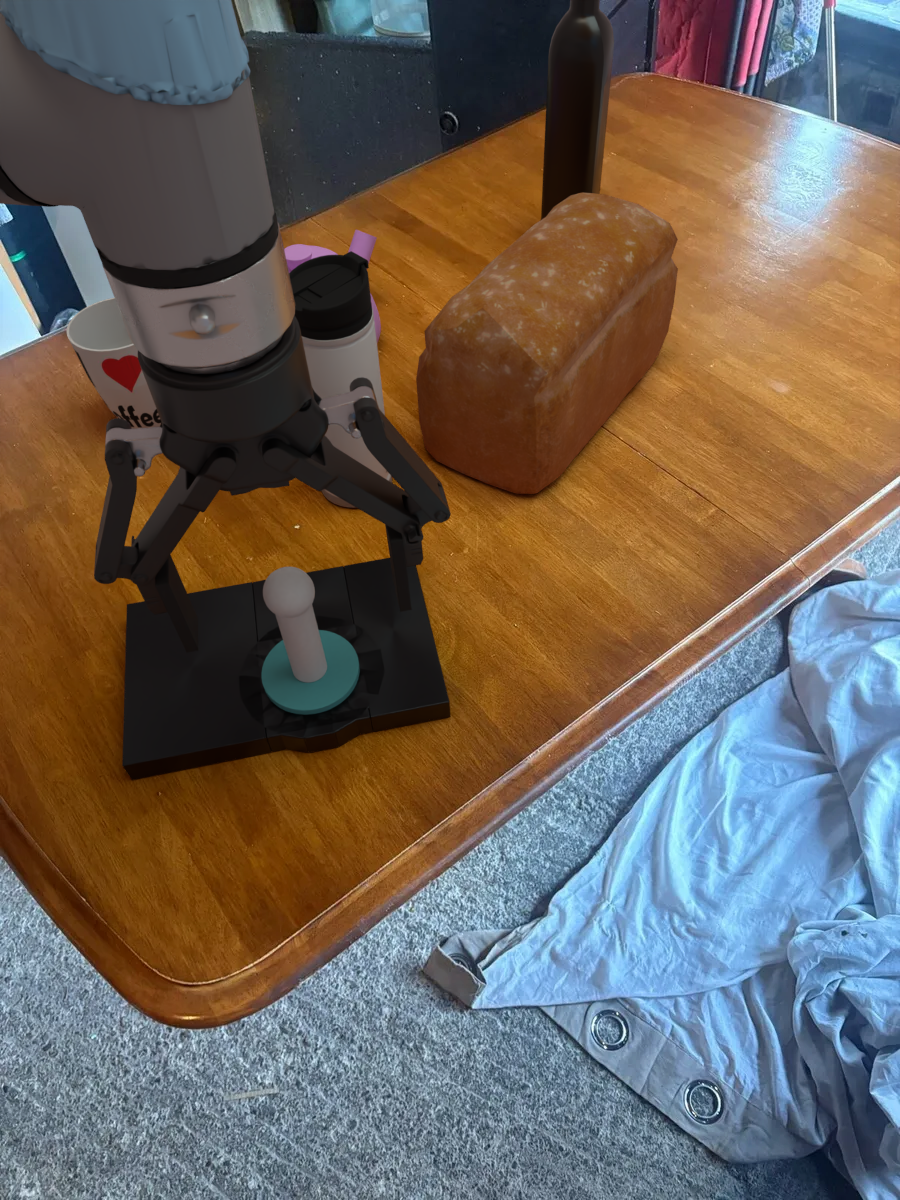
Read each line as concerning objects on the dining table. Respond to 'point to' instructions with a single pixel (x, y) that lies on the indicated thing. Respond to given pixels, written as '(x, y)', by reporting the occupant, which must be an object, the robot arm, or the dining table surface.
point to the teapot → (359, 245)
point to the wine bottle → (576, 103)
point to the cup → (113, 363)
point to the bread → (547, 342)
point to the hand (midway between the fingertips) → (298, 615)
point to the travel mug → (339, 339)
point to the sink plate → (234, 673)
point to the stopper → (304, 650)
